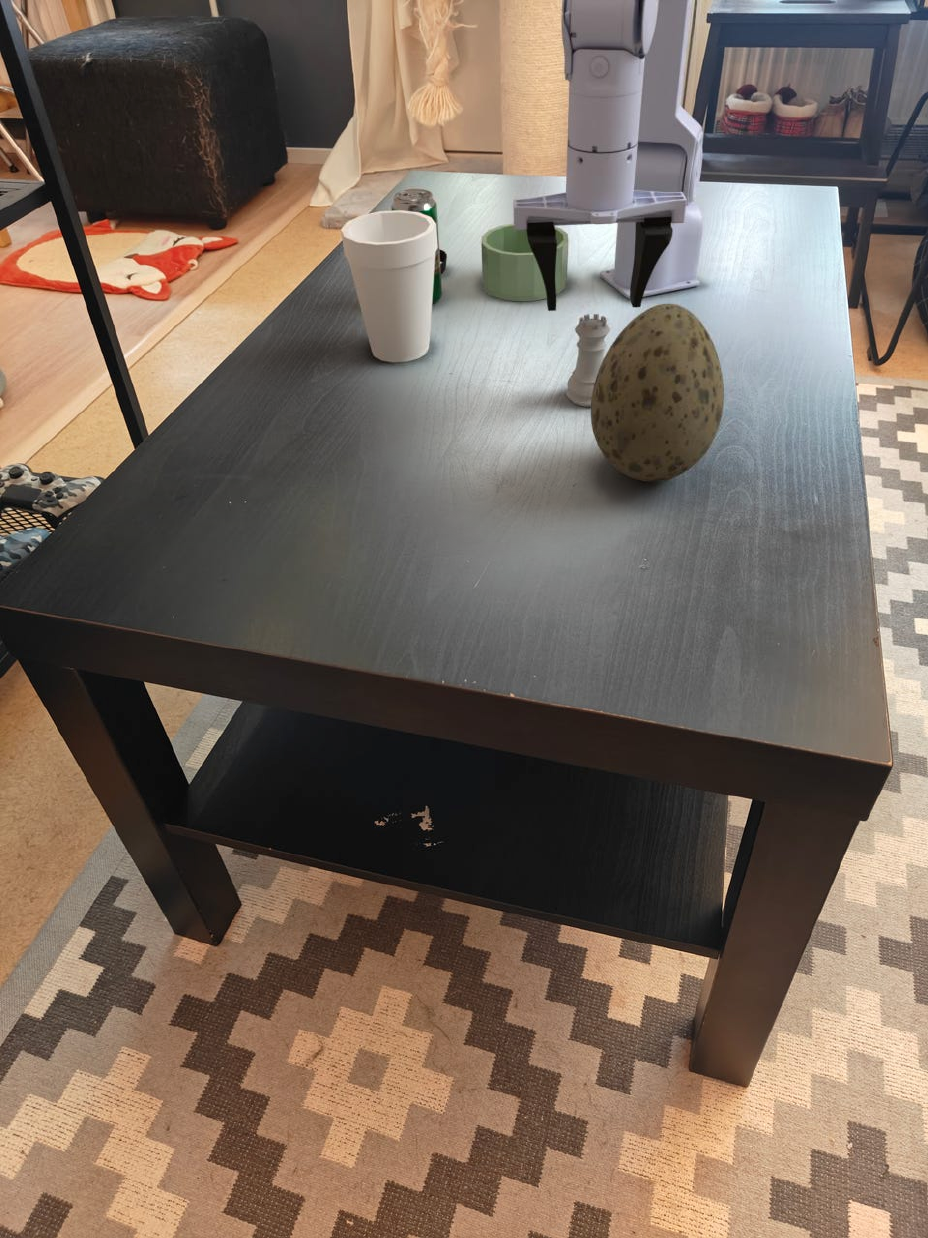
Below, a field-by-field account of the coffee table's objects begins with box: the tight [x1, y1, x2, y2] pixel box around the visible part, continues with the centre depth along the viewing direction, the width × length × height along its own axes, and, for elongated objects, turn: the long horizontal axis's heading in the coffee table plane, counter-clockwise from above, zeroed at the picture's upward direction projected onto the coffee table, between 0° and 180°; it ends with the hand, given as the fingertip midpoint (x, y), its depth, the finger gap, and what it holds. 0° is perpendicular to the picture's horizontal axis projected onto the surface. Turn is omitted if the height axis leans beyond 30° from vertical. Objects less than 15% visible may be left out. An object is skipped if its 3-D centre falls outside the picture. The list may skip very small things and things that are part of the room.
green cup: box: [480, 222, 569, 302], centre depth 107 cm, size 10×10×6 cm
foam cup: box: [340, 210, 438, 363], centre depth 94 cm, size 10×9×13 cm
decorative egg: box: [590, 303, 725, 483], centre depth 74 cm, size 11×11×15 cm
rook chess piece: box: [565, 313, 611, 408], centre depth 86 cm, size 4×4×8 cm
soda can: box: [390, 188, 443, 306], centre depth 103 cm, size 5×5×12 cm
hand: (593, 304), depth 82 cm, fingers open, 7 cm apart
